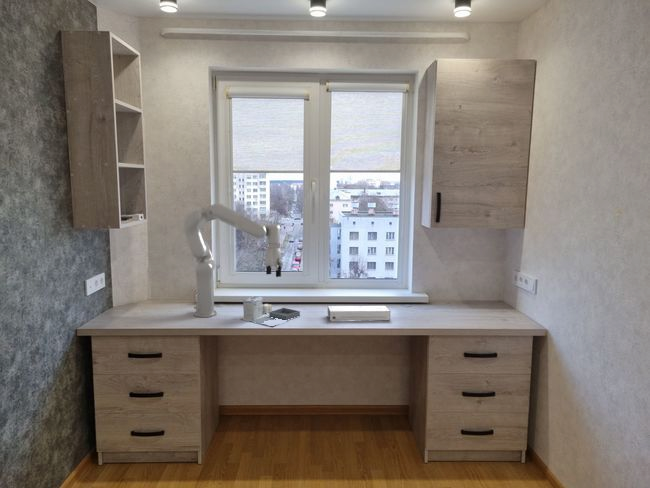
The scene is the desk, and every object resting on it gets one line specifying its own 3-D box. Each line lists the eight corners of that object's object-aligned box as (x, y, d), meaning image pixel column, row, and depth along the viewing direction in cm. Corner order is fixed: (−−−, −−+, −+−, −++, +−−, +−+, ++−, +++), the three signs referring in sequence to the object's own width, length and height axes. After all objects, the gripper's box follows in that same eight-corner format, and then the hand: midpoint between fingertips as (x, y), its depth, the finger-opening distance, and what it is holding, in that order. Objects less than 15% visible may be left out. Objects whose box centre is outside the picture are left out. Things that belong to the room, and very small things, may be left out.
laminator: (385, 316, 256) (385, 305, 256) (390, 322, 244) (390, 311, 243) (327, 316, 253) (327, 305, 252) (329, 322, 241) (330, 311, 240)
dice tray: (269, 317, 248) (269, 311, 248) (283, 312, 258) (283, 307, 258) (285, 321, 241) (285, 315, 241) (299, 316, 251) (299, 311, 251)
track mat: (240, 319, 243) (240, 318, 243) (255, 314, 253) (255, 313, 253) (272, 327, 230) (272, 326, 229) (287, 322, 239) (287, 321, 239)
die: (260, 312, 257) (260, 304, 256) (266, 311, 261) (266, 303, 260) (266, 314, 254) (266, 306, 254) (272, 312, 258) (272, 304, 257)
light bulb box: (252, 314, 252) (252, 295, 251) (262, 315, 250) (262, 296, 248) (242, 319, 242) (242, 299, 241) (253, 320, 240) (253, 301, 238)
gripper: (259, 245, 256) (259, 274, 258) (276, 248, 243) (276, 278, 245) (270, 244, 261) (270, 272, 263) (287, 247, 248) (287, 276, 250)
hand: (273, 275), depth 254 cm, fingers open, 9 cm apart
